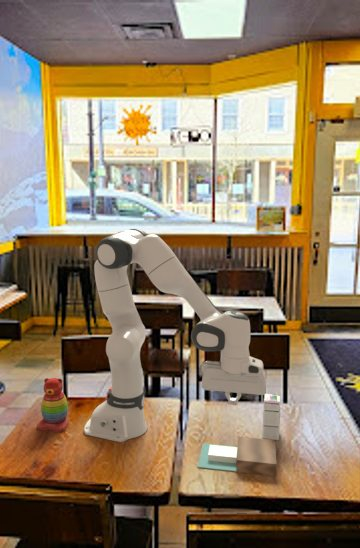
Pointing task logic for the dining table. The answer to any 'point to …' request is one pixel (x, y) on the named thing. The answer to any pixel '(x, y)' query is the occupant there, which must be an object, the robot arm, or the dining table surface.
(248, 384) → the robot arm
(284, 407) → the dining table surface
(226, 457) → the cream rectangular block
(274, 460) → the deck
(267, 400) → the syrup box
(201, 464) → the mat
